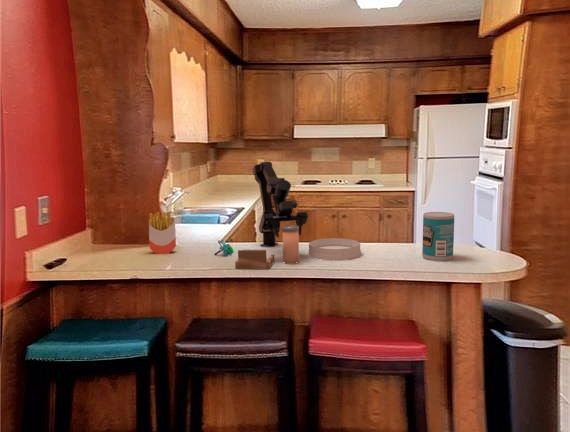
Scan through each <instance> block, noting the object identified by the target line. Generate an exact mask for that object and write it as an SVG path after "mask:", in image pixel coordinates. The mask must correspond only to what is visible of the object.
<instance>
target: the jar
mask: <svg viewBox="0 0 570 432" xmlns="http://www.w3.org/2000/svg"><path fill="white" fill-rule="evenodd" d="M298 230H299V226H298V225H296V224H285V225H282V226H281V231H282V262H285V263H284V264H287V263H294V264H297V263H296V262H298V263H299V262H300V255H299V254H300V252H299V251H300V250H299V249H300V248H299V247H300V245H299V244H300V243H299V241H300V239H299V234H298Z"/></svg>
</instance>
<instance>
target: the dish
mask: <svg viewBox="0 0 570 432" xmlns="http://www.w3.org/2000/svg"><path fill="white" fill-rule="evenodd" d="M361 251H362V250H361V242H360V241H358V240H355V239H349V238H341V237H340V238H338V237H337V238H336V237H333V238H332V237H329V238H319V239H315V240H312V241H309V243H308V255H310V256H311V258H312V257H314V258H313V259H315V258H317V259H316V260H320V259H322V261H333V260H334V261H348V260H354V259H357V258H359V257H361V254H362V252H361ZM310 256H309V257H310Z"/></svg>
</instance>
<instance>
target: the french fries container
mask: <svg viewBox="0 0 570 432" xmlns="http://www.w3.org/2000/svg"><path fill="white" fill-rule="evenodd" d="M148 237H149V238H148V241H149V245H148V246H149V249H150V250H151V251H152V252H153V253H154V254H156V255H163V254H166V255H167V254H170V253H171V252H172V251H173V250H174V249H175V248H176V247H177V235H176V218H174V216H171V212H170V211H163V214H161V215H160V211H157V212H156V214H153V213H152V212H151V213H149V219H148Z"/></svg>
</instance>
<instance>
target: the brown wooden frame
mask: <svg viewBox="0 0 570 432" xmlns="http://www.w3.org/2000/svg"><path fill="white" fill-rule="evenodd" d="M273 261H274V262H275V254H271V255H270V256H269V257H268V259H267V249H238V251H237V260H236V261H234V262H235V263H234V264H235V265H234V266H235V267H234V268H235V269H239V270H241V269H244V270H245V269H246V270H247V269H248V270H252V269H253V270H270V269H271V267H272V265H273V264H274V262H273ZM272 263H273V264H272Z"/></svg>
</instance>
